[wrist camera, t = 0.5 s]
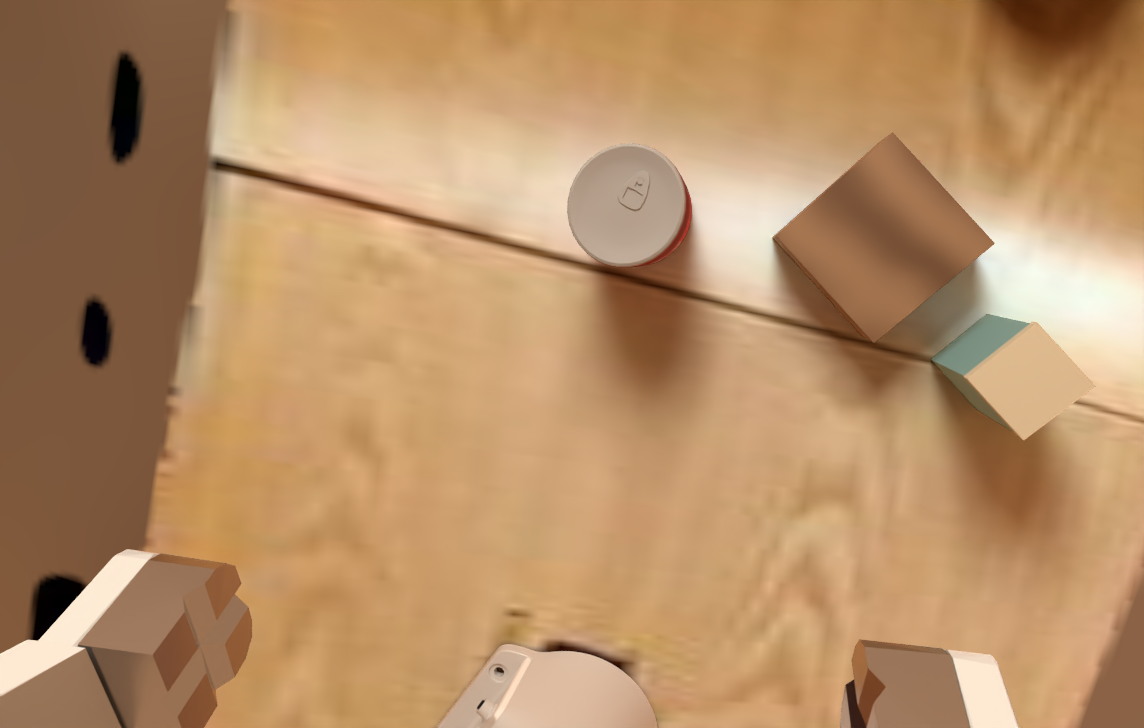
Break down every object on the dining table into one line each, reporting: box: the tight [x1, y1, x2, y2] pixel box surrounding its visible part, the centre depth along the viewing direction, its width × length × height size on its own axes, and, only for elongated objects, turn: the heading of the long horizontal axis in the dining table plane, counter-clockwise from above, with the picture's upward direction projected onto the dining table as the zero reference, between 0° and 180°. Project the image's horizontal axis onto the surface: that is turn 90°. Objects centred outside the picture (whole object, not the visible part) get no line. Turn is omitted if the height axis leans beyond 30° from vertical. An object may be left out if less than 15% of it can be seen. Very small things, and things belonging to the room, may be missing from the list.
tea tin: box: [931, 314, 1095, 441], centre depth 57 cm, size 5×5×10 cm
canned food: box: [567, 144, 692, 267], centre depth 59 cm, size 8×8×11 cm
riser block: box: [773, 133, 995, 343], centre depth 59 cm, size 10×10×5 cm
